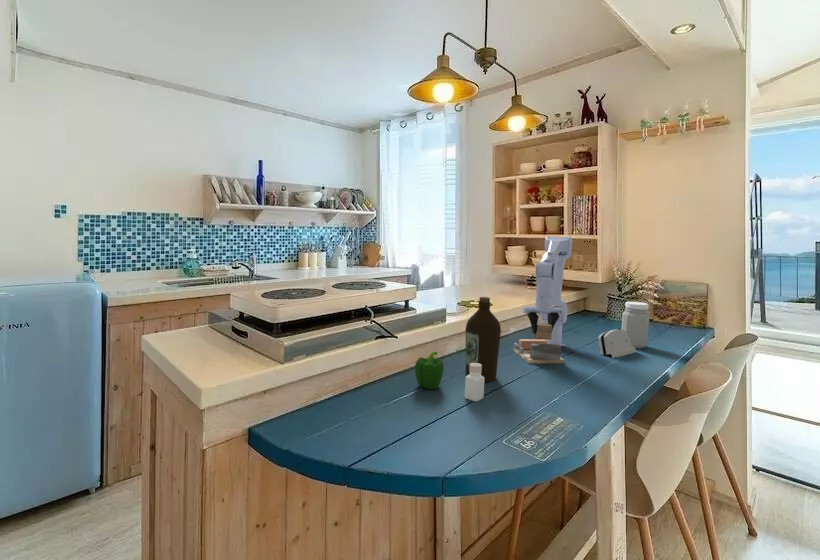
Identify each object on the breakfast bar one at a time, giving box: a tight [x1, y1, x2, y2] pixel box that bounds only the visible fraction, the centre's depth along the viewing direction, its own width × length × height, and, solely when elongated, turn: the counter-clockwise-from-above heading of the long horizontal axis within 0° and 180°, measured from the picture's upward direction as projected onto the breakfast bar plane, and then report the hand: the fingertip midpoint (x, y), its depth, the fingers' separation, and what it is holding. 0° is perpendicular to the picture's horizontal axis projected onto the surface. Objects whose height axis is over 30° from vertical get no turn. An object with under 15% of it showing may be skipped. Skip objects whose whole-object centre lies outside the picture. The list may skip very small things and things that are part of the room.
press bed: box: [512, 342, 566, 364], centre depth 155 cm, size 16×13×6 cm
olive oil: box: [465, 296, 502, 383], centre depth 130 cm, size 11×11×25 cm
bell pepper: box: [414, 351, 444, 390], centre depth 121 cm, size 8×8×10 cm
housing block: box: [531, 322, 552, 340], centre depth 152 cm, size 5×5×5 cm
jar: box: [620, 301, 650, 350], centre depth 174 cm, size 10×10×18 cm
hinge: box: [597, 329, 637, 359], centre depth 164 cm, size 17×5×10 cm, turn 124°
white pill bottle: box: [464, 363, 485, 402], centre depth 113 cm, size 4×4×10 cm
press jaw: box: [518, 338, 547, 349], centre depth 160 cm, size 2×10×3 cm, turn 95°
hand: (541, 333), depth 152 cm, fingers closed on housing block, 5 cm apart
